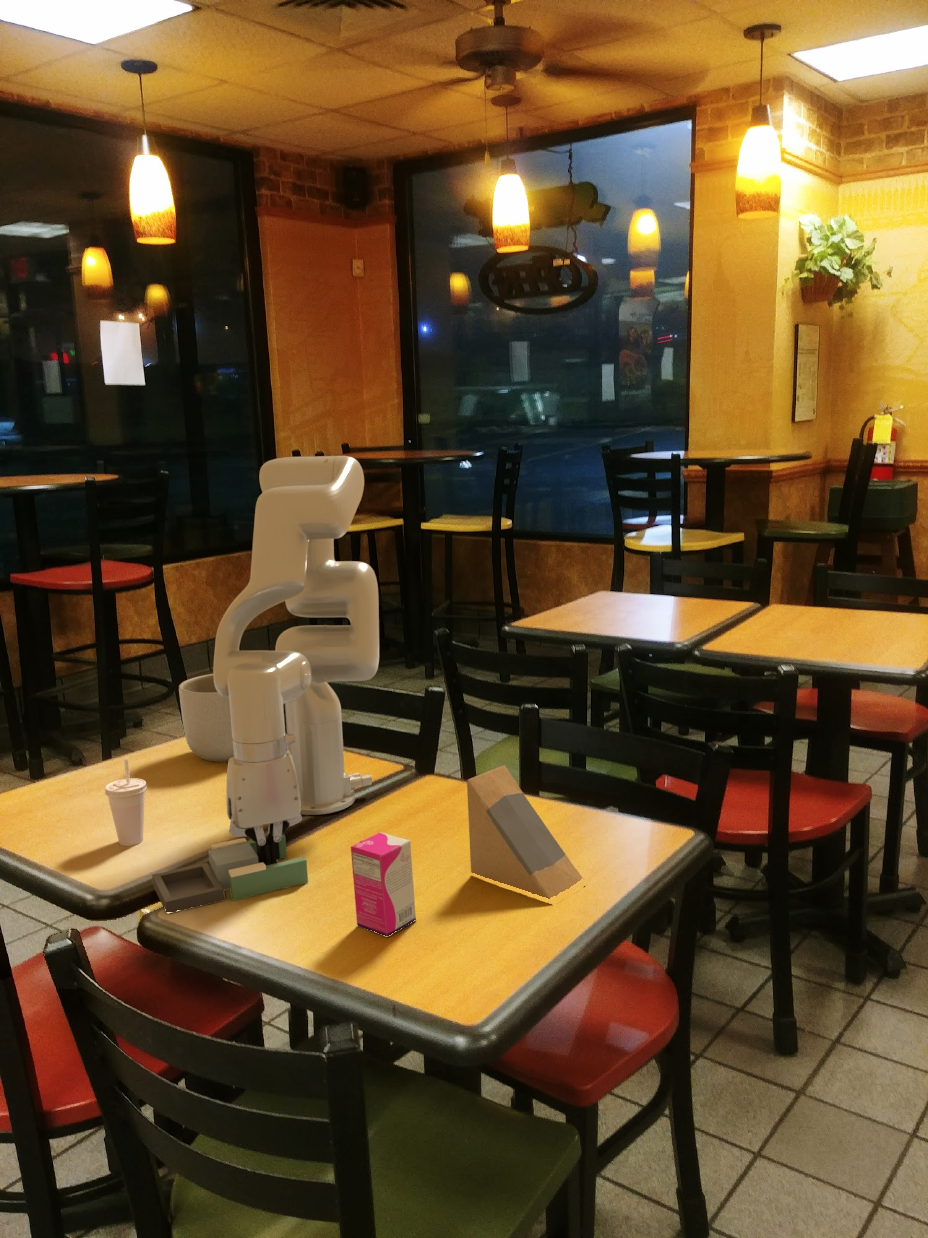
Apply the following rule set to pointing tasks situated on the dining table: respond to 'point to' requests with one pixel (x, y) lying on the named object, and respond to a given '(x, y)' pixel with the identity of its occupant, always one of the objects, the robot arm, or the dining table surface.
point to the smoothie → (127, 807)
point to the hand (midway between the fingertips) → (269, 865)
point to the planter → (206, 719)
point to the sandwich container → (513, 838)
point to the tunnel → (264, 873)
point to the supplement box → (383, 883)
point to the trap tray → (188, 887)
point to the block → (231, 860)
